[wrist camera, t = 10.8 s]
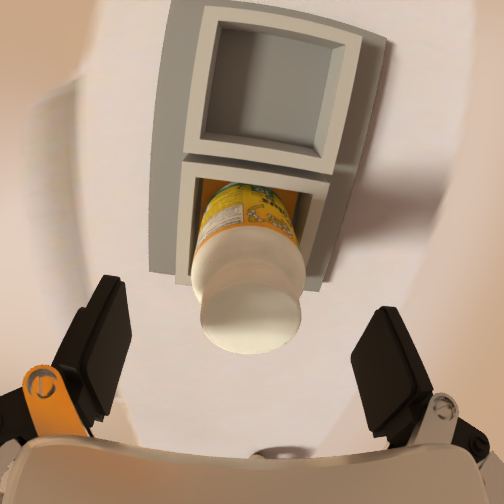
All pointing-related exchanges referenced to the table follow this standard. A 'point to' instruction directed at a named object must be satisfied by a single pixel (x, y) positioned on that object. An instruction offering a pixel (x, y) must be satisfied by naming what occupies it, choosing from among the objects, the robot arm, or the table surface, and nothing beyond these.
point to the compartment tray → (258, 122)
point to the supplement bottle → (248, 270)
